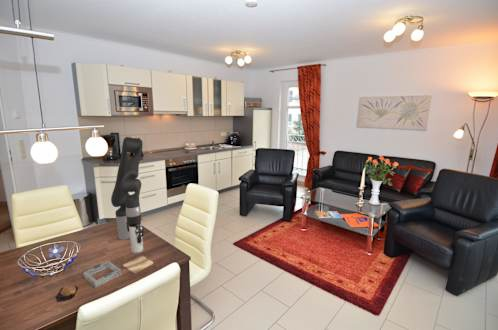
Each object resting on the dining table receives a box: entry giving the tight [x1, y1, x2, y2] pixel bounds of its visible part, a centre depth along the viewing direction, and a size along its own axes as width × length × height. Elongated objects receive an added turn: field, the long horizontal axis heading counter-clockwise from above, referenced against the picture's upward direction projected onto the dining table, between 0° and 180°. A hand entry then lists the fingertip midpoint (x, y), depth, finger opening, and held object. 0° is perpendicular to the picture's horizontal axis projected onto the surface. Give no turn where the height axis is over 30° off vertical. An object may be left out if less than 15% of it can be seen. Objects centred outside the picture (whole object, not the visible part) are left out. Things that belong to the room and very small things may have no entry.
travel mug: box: [129, 220, 144, 255], centre depth 145 cm, size 6×7×20 cm
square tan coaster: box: [122, 255, 154, 275], centre depth 149 cm, size 12×12×1 cm
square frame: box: [83, 260, 122, 289], centre depth 138 cm, size 13×13×4 cm
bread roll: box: [55, 284, 79, 303], centre depth 125 cm, size 11×8×4 cm
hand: (136, 240), depth 146 cm, fingers closed on travel mug, 6 cm apart
